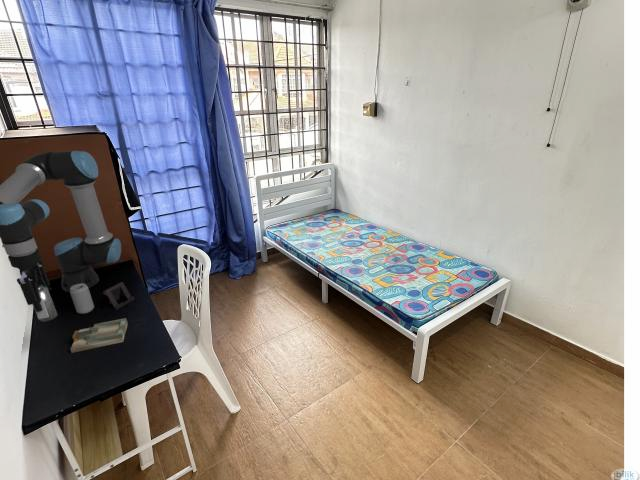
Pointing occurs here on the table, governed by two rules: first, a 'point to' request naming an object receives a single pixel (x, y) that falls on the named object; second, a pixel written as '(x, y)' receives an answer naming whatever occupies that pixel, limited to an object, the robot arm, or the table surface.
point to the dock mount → (102, 335)
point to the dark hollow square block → (115, 293)
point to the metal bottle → (47, 302)
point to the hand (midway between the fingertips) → (46, 312)
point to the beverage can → (81, 298)
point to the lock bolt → (80, 335)
